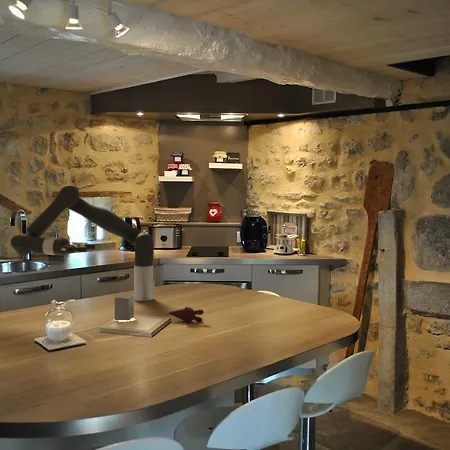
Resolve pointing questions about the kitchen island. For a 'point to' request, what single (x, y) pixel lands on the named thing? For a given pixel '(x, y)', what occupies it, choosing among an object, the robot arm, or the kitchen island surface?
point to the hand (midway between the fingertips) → (90, 248)
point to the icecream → (187, 314)
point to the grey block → (124, 307)
